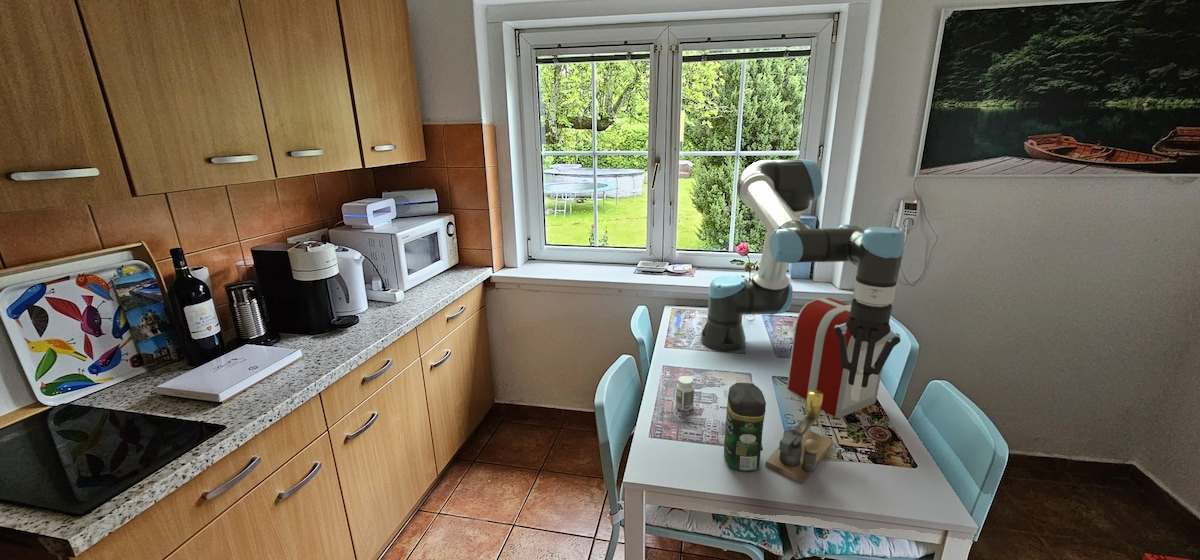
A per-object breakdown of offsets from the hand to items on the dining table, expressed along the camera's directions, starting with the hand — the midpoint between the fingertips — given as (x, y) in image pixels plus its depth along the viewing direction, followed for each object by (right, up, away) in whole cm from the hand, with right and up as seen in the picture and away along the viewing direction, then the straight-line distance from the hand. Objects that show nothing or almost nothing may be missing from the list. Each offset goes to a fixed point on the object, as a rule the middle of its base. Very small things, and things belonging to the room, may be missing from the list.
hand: (854, 397), depth 111 cm
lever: (-12, -9, +2) cm, 15 cm away
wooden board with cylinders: (-10, -15, +4) cm, 18 cm away
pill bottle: (-35, -8, +24) cm, 43 cm away
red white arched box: (+8, -6, +28) cm, 30 cm away
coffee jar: (-25, -15, +3) cm, 30 cm away
